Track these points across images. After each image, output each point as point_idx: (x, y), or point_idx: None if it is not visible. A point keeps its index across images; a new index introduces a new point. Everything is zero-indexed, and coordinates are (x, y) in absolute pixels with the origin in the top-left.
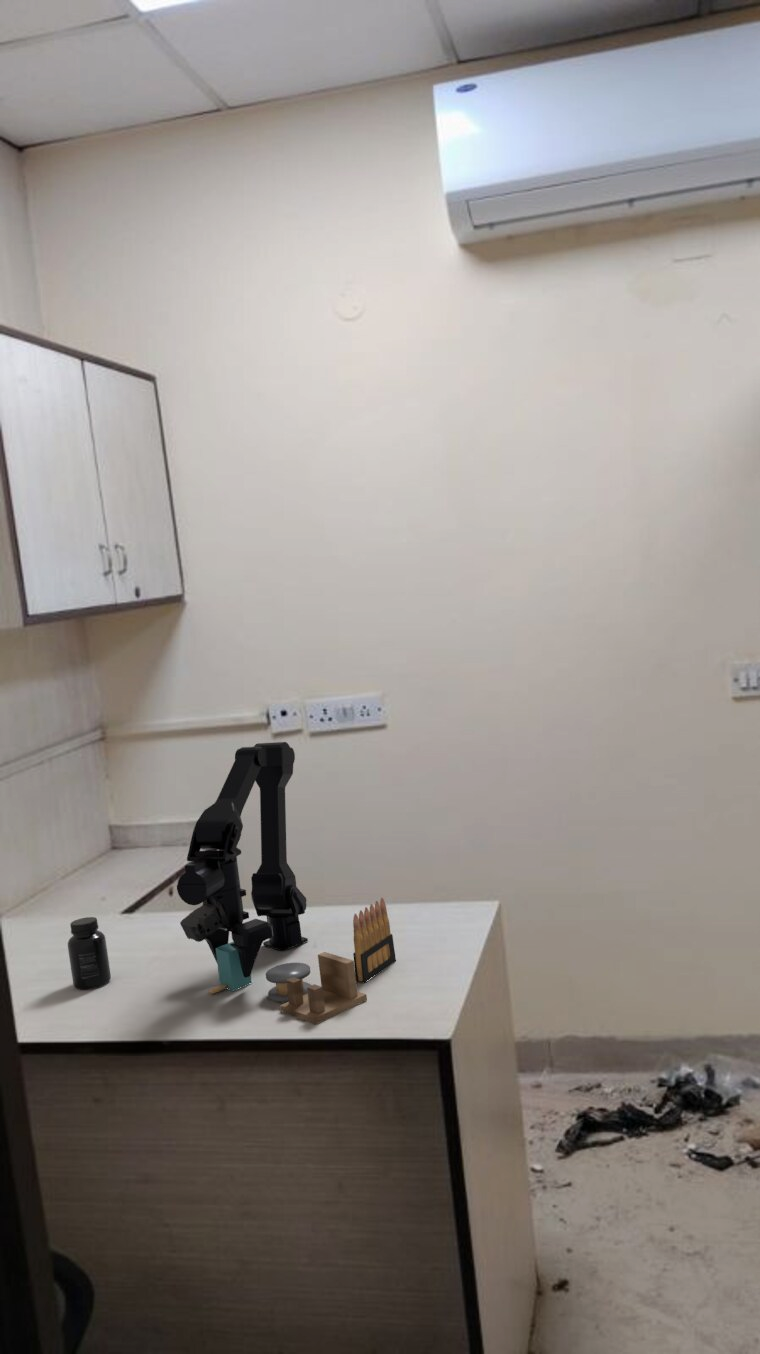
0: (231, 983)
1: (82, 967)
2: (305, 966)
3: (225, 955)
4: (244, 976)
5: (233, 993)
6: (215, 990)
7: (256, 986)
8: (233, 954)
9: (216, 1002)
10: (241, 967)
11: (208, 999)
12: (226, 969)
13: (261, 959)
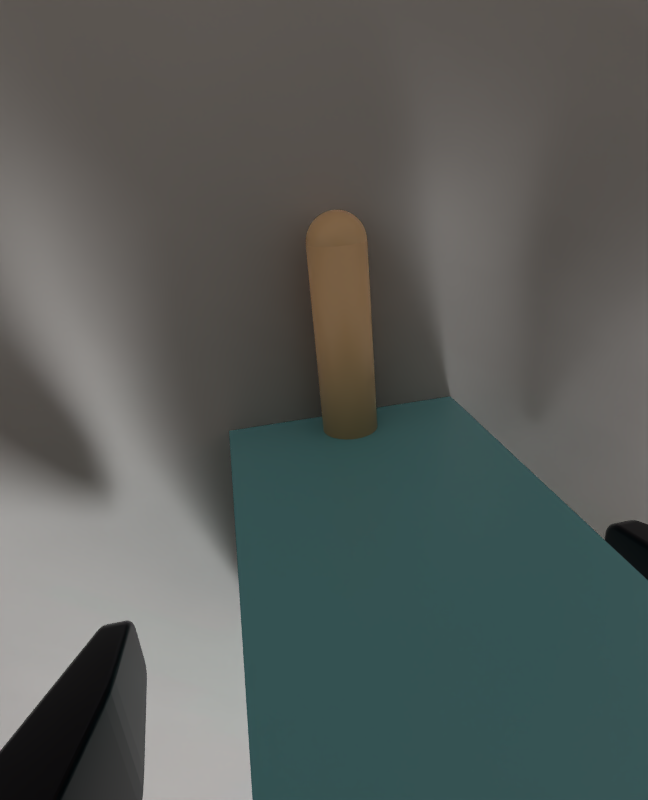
0: (248, 466)
1: None
2: None
3: (394, 773)
4: (105, 629)
5: (169, 409)
6: (310, 277)
7: (159, 616)
8: None
9: (59, 149)
10: (77, 726)
11: (234, 130)
12: (346, 547)
13: None
